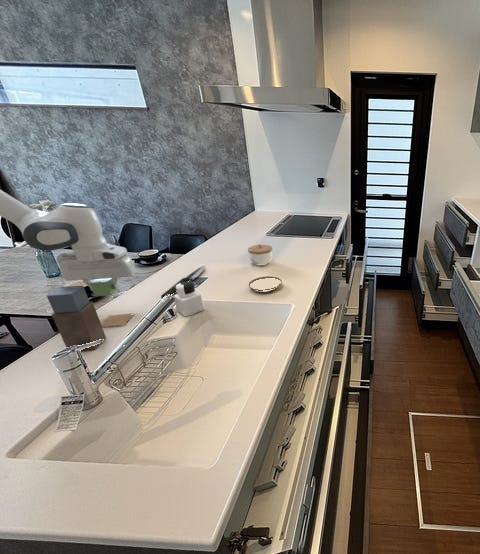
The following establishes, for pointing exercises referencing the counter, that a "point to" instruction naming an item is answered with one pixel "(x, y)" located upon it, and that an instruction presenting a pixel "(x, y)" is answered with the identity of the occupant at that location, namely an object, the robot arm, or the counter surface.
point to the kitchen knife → (184, 280)
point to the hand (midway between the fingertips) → (105, 289)
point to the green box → (103, 287)
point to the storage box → (80, 327)
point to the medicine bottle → (188, 299)
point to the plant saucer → (264, 278)
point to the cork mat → (116, 320)
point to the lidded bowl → (260, 254)
